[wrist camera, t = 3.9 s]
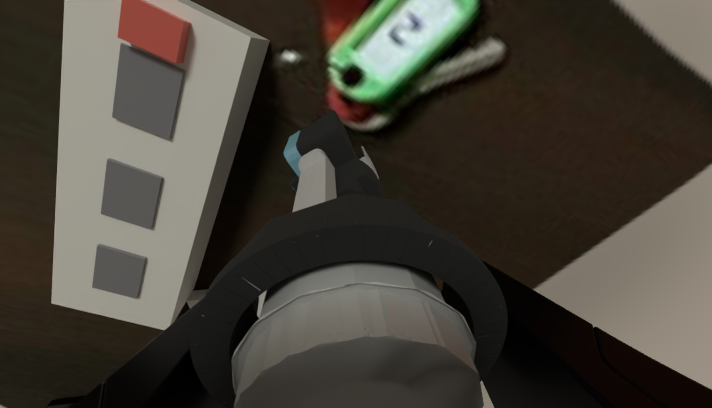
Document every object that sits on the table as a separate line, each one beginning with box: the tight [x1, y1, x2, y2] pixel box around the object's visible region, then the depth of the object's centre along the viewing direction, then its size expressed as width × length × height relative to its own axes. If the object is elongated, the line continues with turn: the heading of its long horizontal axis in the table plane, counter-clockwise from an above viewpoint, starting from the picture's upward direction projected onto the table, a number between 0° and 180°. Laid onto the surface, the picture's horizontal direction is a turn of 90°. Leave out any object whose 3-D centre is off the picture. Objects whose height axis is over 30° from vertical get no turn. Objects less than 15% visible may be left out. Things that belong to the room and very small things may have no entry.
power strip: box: [51, 0, 270, 330], centre depth 12 cm, size 14×5×4 cm, turn 155°
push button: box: [190, 110, 508, 408], centre depth 9 cm, size 7×5×10 cm
